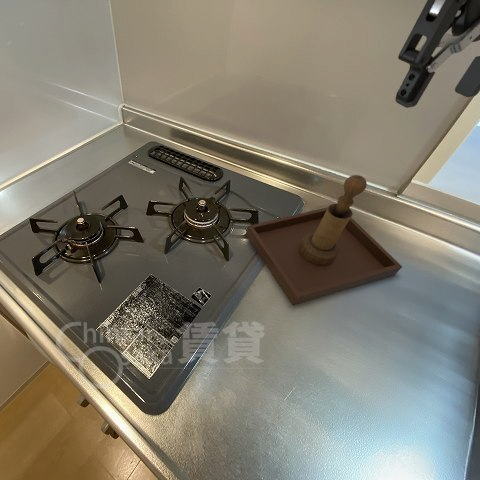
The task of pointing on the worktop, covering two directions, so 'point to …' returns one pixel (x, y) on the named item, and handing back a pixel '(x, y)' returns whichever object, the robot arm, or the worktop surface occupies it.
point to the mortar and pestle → (332, 225)
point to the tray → (311, 275)
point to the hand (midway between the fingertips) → (434, 99)
